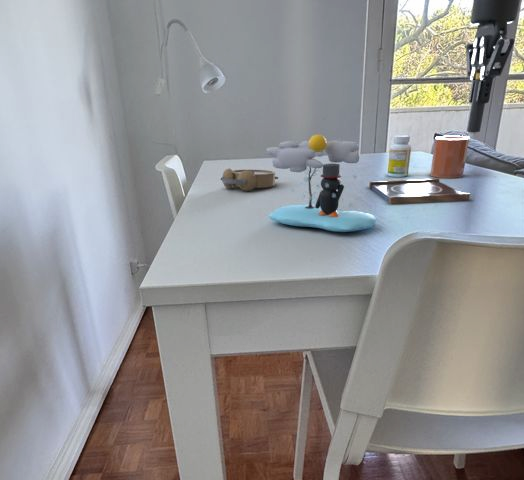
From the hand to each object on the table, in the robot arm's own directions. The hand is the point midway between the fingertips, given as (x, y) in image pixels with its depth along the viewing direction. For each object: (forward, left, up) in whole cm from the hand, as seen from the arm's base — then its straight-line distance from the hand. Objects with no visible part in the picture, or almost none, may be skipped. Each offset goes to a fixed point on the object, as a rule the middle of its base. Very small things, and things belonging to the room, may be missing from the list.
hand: (478, 102), depth 90 cm
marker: (0, 0, -6) cm, 6 cm away
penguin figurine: (+32, +15, -18) cm, 40 cm away
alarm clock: (+44, -23, -18) cm, 53 cm away
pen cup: (-8, -27, -18) cm, 33 cm away
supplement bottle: (+4, -30, -18) cm, 35 cm away
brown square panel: (+7, -7, -18) cm, 21 cm away
